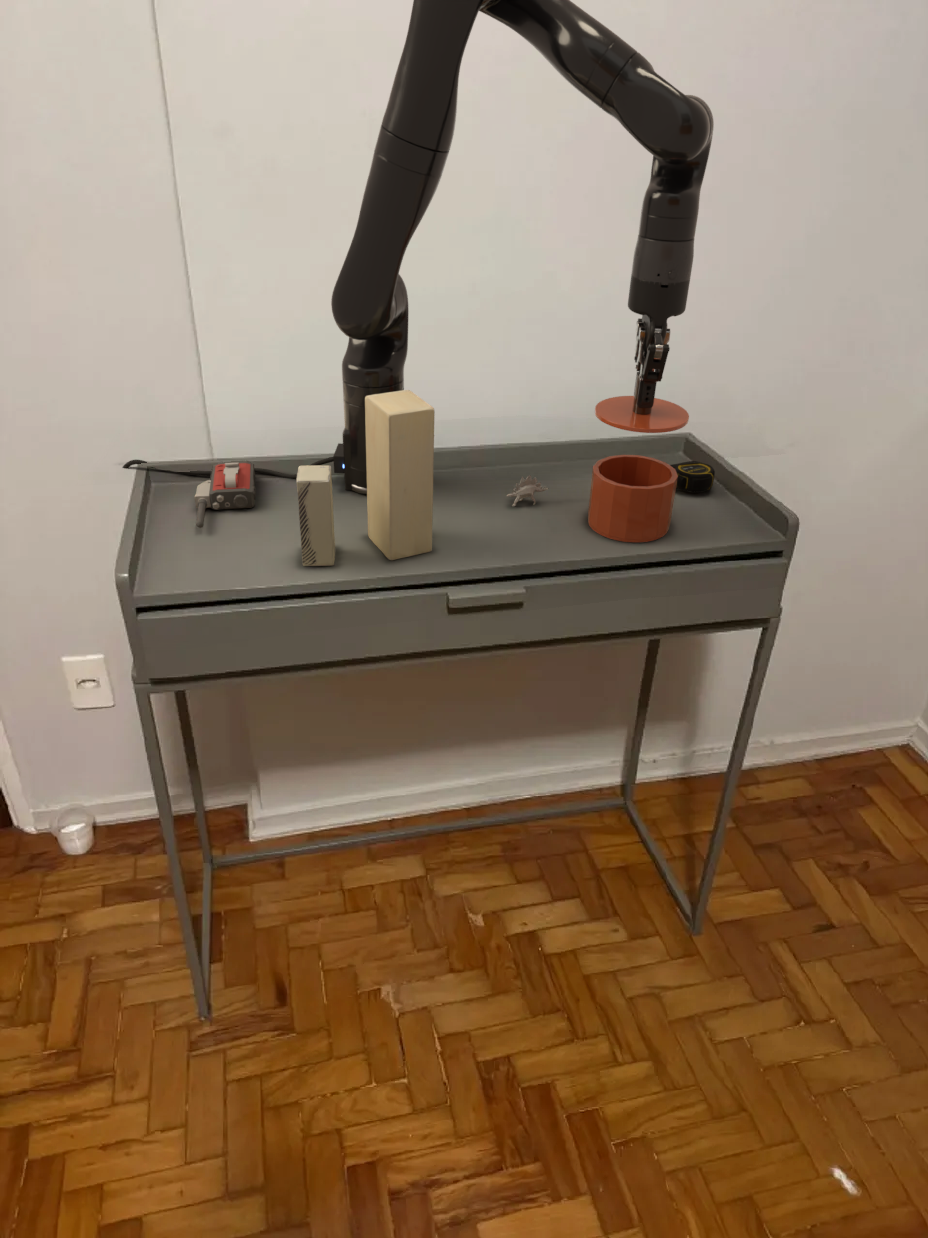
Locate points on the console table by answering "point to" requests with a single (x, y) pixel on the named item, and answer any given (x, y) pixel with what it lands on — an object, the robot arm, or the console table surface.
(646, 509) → the pot
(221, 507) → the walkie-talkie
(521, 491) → the stegosaurus
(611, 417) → the lid
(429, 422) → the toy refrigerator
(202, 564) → the console table surface
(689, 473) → the tape measure
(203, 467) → the console table surface
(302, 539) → the box
